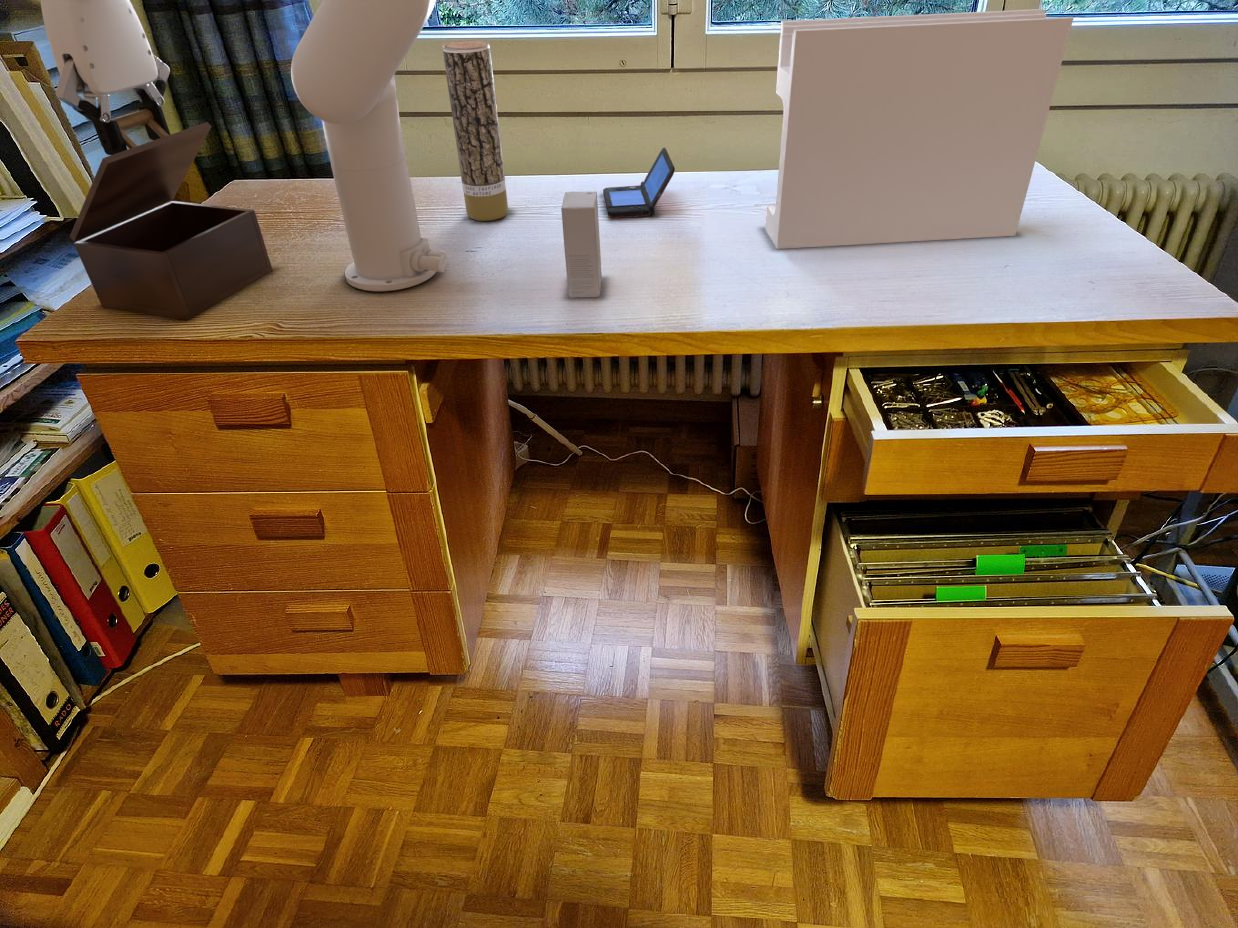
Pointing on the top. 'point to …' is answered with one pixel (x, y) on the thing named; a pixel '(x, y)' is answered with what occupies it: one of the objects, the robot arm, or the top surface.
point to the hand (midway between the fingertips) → (139, 146)
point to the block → (911, 125)
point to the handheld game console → (640, 191)
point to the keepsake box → (175, 259)
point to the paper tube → (476, 128)
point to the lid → (138, 174)
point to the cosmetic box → (582, 244)
